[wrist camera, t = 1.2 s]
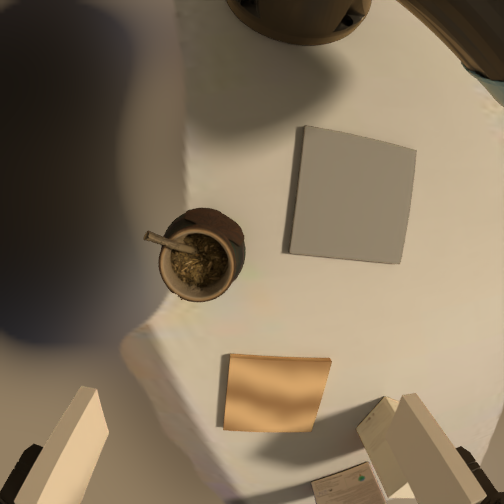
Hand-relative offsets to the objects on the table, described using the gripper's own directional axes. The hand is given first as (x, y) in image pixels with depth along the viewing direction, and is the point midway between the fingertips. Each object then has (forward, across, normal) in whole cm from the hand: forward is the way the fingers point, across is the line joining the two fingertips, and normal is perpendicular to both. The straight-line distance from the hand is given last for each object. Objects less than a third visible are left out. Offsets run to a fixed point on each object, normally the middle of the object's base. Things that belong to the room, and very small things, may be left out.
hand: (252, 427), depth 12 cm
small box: (+20, +21, -20) cm, 35 cm away
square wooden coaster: (+19, +4, -14) cm, 24 cm away
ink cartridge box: (+19, +17, -34) cm, 43 cm away
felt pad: (+20, +10, +8) cm, 24 cm away
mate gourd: (+20, -4, +3) cm, 20 cm away
